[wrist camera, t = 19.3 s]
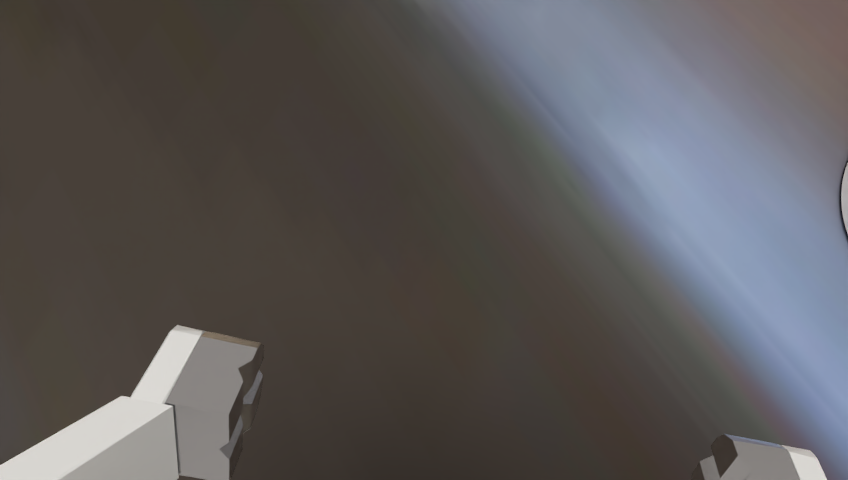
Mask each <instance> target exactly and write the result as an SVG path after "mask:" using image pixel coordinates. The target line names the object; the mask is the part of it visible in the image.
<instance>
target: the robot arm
mask: <svg viewBox="0 0 848 480" xmlns="http://www.w3.org/2000/svg"><path fill="white" fill-rule="evenodd" d="M841 205H842V214H843V219H844V223H845V227H846V231H847V234H848V163H847V166H846V169H845V172H844V176H843V182H842V190H841ZM263 358H264V345H263V344H262V343H258V342H253V341H249V340H244V339H240V338H235V337H231V336H226V335H222V334H217V333H213V332H208V331H202V330H198V329H193V328H189V327H184V326H179V325H177V326H176V327H174V328H173V329H172V330H171V331H170V332H169V334H168V335H167V337H166V339H165V340H164V342H163V344H162V345H161V347H160V349H159V350H158V352H157V354H156V355H155V357H154V359H153V360H152V362H151V364H150V365H149V367H148V369H147V370H146V372H145V374H144V375H143V377H142V379H141V380H140V382H139V384H138V385H137V387H136V389H135V390H134V392H133V394H132V395H131V397H126V396H120V397H118V398H117V399H115V400H113V401H112V402H110V403H108V404H106V405H105V406H103V407H101V408H99V409H98V410H96V411H94V412H92V413H91V414H89V415H87V416H85V417H84V418H82V419H80V420H78V421H77V422H75V423H73V424H71V425H70V426H68V427H66V428H64V429H63V430H61V431H59V432H57V433H56V434H54V435H52V436H51V437H49V438H47V439H45V440H44V441H42V442H40V443H38V444H37V445H35V446H33V447H31V448H30V449H28V450H26V451H24V452H23V453H21V454H19V455H17V456H16V457H14V458H12V459H10V460H9V461H7V462H5V463H3V464H2V465H0V480H177V479H178V478H179V475H183V476H189V477H195V478H201V479H207V480H231V477H232V475H233V472H234V470H235V467H236V465H237V462H238V460H239V457H240V454H241V452H242V446H243V433H244V432H245V431H247V430H248V429H250V428H251V426H252V423H253V421H254V418H255V415H256V412H257V408H258V405H259V401H260V397H261V391H262V383H263V375H262V374H261V373H260V371H259V368H260V366H261V363H262V361H263ZM711 449H712V453H713V456H711V457H709V458H706V459H704V460H702V461H700V462H699V463H698V465H697V466H696V468H695V470H694V471H693V473H692V477H691V480H827V479H826V476H825V474H824V472H823V470H822V468H821V466H820V463H819V461H818V459H817V457H816V456H815V455H814V454H813V453H812V452H811V451H810V450H805V449H800V448H794V447H789V446H784V445H778V444H775V443H770V442H764V441H759V440H754V439H748V438H743V437H737V436H732V435H727V434H723V435H721V436H719V437H717V438H716V440H715V441H714V442H713V444H712V445H711Z"/></svg>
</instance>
